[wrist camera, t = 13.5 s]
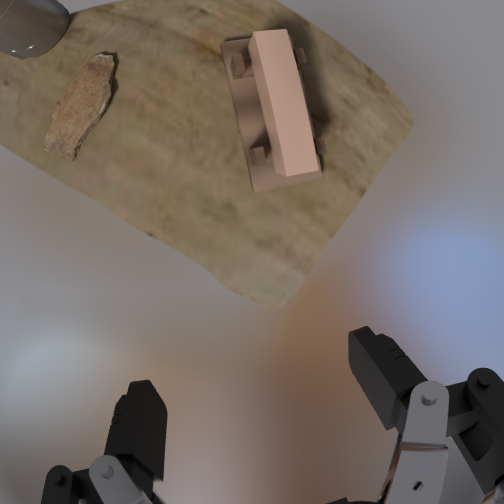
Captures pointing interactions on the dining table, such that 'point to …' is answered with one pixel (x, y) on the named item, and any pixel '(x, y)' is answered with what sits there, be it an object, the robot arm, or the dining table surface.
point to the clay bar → (282, 102)
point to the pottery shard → (80, 106)
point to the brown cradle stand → (261, 118)
